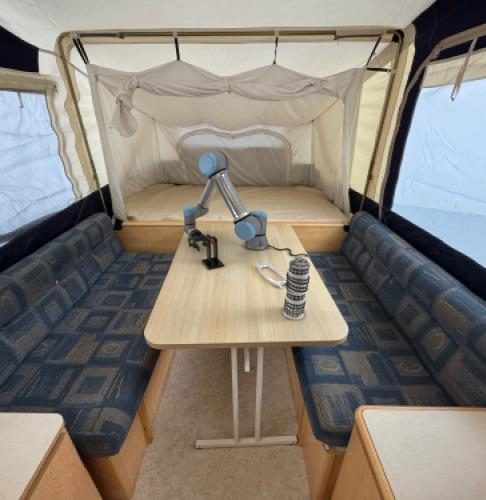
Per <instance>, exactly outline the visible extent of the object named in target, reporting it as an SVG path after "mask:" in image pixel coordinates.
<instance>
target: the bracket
mask: <svg viewBox="0 0 486 500" xmlns="http://www.w3.org/2000/svg"><path fill="white" fill-rule="evenodd" d="M213 239H214V240H215V243H213V245H212V244H211V240H210V239H209V238H208V237H207V238H206V247H205V248H206V258H203V259H201V262H202V264H203V265H204V266H205V267H206V268H207V270H208V271H209V270H214V269H219V268H223V267H224V266H225V264H224V263H223V262H222V261H221V260H220V259H219V243H218V238H217V236H215V235H214V236H213ZM212 253H213V254H212ZM212 255H213V256H212Z"/></svg>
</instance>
